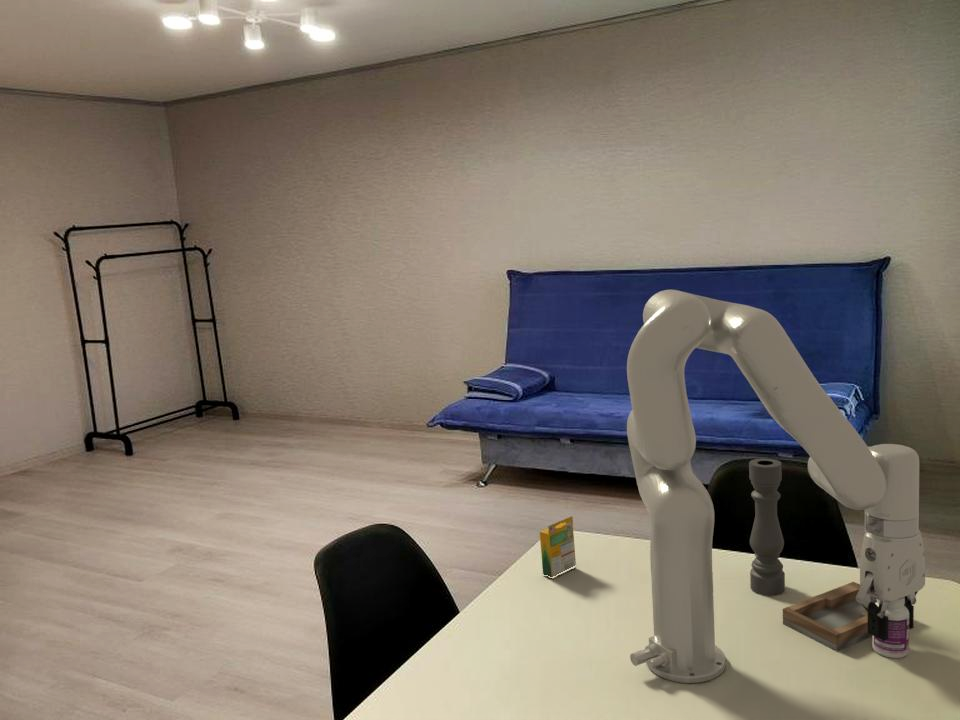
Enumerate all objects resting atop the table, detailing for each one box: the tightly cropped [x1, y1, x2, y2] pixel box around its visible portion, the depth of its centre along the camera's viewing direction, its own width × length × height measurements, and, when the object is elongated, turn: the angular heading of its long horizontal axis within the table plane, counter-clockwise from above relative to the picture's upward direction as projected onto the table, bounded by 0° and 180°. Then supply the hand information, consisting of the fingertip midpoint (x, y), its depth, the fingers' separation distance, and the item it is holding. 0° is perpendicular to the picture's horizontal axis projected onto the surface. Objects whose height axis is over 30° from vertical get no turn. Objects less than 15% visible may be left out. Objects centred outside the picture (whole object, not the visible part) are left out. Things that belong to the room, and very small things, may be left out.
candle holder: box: [748, 457, 786, 597], centre depth 149 cm, size 6×6×25 cm
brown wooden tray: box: [782, 581, 877, 652], centre depth 136 cm, size 18×11×3 cm, turn 117°
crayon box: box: [539, 515, 577, 577], centre depth 164 cm, size 7×3×12 cm, turn 130°
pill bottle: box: [871, 597, 910, 659], centre depth 126 cm, size 5×5×10 cm
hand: (890, 630), depth 126 cm, fingers closed on pill bottle, 5 cm apart
